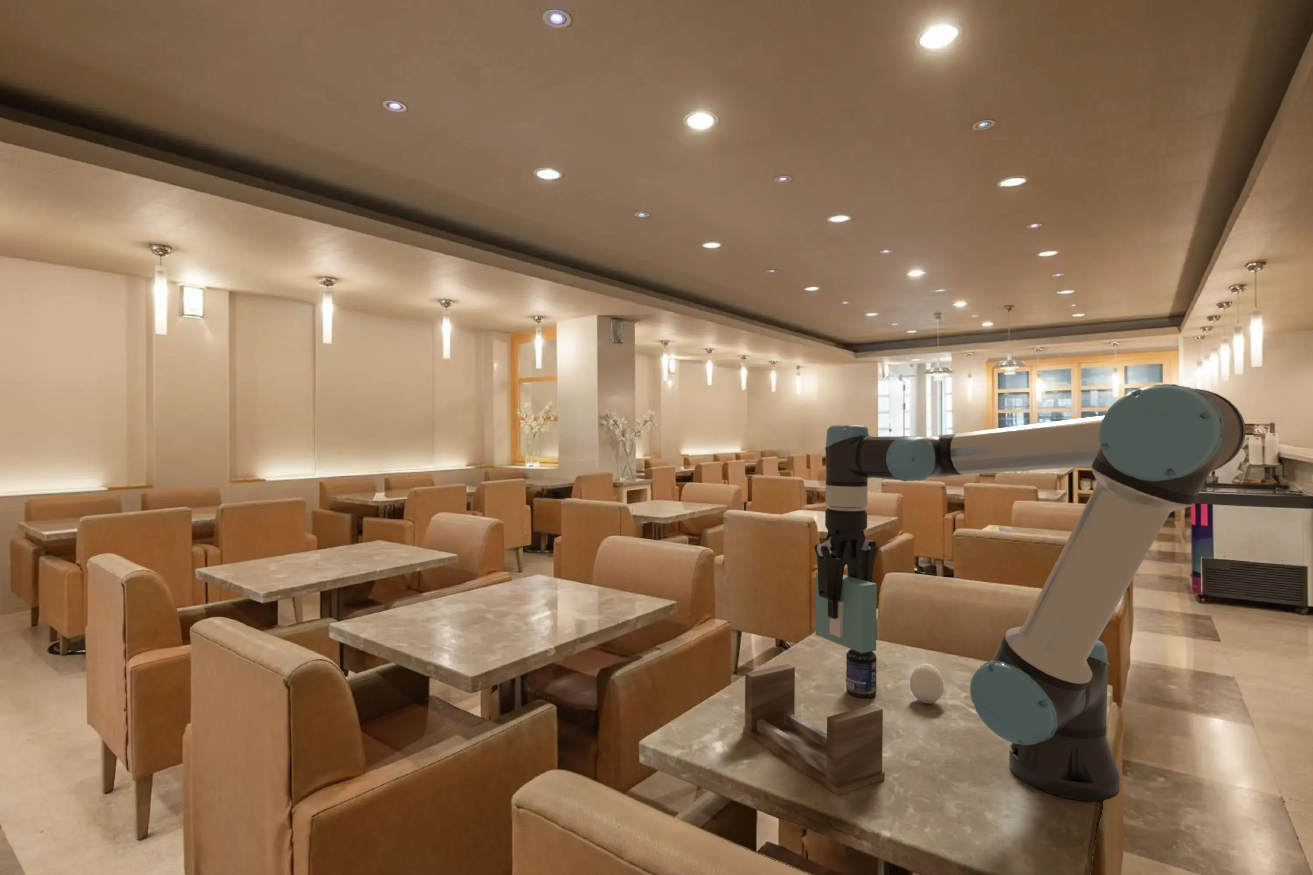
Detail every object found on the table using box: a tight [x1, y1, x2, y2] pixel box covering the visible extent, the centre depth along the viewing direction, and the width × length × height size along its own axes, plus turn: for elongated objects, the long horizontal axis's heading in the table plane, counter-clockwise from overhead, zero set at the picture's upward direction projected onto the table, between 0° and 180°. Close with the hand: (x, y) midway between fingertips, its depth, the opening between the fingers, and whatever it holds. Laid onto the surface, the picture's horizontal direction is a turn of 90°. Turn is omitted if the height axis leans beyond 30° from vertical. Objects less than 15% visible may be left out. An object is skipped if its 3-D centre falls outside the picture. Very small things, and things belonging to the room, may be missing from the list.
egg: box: [909, 662, 945, 705], centre depth 135 cm, size 6×6×8 cm
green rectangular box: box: [815, 572, 878, 653], centre depth 124 cm, size 12×4×12 cm, turn 28°
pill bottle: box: [845, 649, 877, 699], centre depth 140 cm, size 6×6×11 cm
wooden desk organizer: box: [742, 663, 886, 796], centre depth 114 cm, size 24×10×11 cm, turn 29°
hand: (844, 633), depth 124 cm, fingers closed on green rectangular box, 3 cm apart
